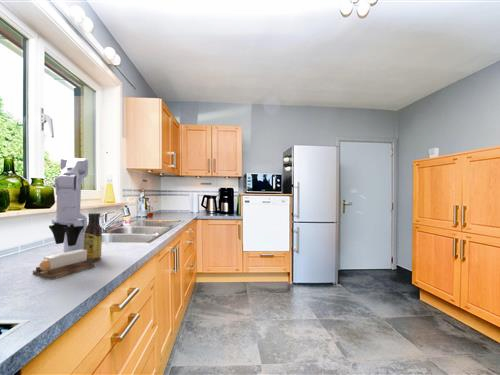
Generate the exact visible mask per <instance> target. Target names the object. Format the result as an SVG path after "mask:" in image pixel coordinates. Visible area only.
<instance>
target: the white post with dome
mask: <svg viewBox="0 0 500 375" xmlns="http://www.w3.org/2000/svg"><path fill="white" fill-rule="evenodd" d="M85 260H87V250H82V249H79V250H75V251H70V252H65V253H64V252H60V253H57V254H52V255H48V256H44V257H43V260H42V261H41V262H40V263H39V266H40V269H41V270H43V271H45V272H47V270H50V269H54V268H58V267H62V266H66V265H70V264H74V263H78V262H81V261H85Z"/></svg>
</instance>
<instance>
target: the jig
mask: <svg viewBox="0 0 500 375" xmlns="http://www.w3.org/2000/svg"><path fill="white" fill-rule="evenodd" d="M92 268H96V264H95V263H93V262H92V260H91V259H89V260H85V261H81V262H78V263H74V264H70V265H66V266H62V267H58V268H54V269H50V270H47V272H45V271H43V270H41V269H40V265H39V266H36V267H35V269H34V270H32V274H33V275H36V276H39V277H44V278H46V279H51V280H54V279H58V278H61V277H64V276H68V275H72V274H74V273H79V272H81V271H85V270H88V269H92Z"/></svg>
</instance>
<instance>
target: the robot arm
mask: <svg viewBox="0 0 500 375" xmlns="http://www.w3.org/2000/svg"><path fill="white" fill-rule="evenodd" d="M60 170H61V171H60V174H59V175H58V176H55V177H54V189H55V196H56V212H55V214H56V217H55V218H51V225H48V228H49V230H50V231H51V233H52V234H53V238H54V241H55V244H56V245H59V244H60V245H61V244H63V253H65V252H70V251H75V250H79V249H82V250H84V233H85V230H86V228H87V226H88V218H87V215H84V214H83V213H82V212H81V199H82V196H81V195H82V182H83V179H85V178H87V177H88V175H89V159H88V158H86V157H85V158H82V157H81V158H79V157H66V156H62V157H61V158H60Z"/></svg>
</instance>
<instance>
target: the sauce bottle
mask: <svg viewBox="0 0 500 375" xmlns="http://www.w3.org/2000/svg"><path fill="white" fill-rule="evenodd" d="M87 216H88V221H87V228H86V230H85V233H84V250H87V260H89V259H91V260H92V263H93V262H98V261H100V260H101V257H102V242H103V228H102V227H101V225H100V217H101V213H100V212H89V213H88V215H87Z"/></svg>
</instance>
